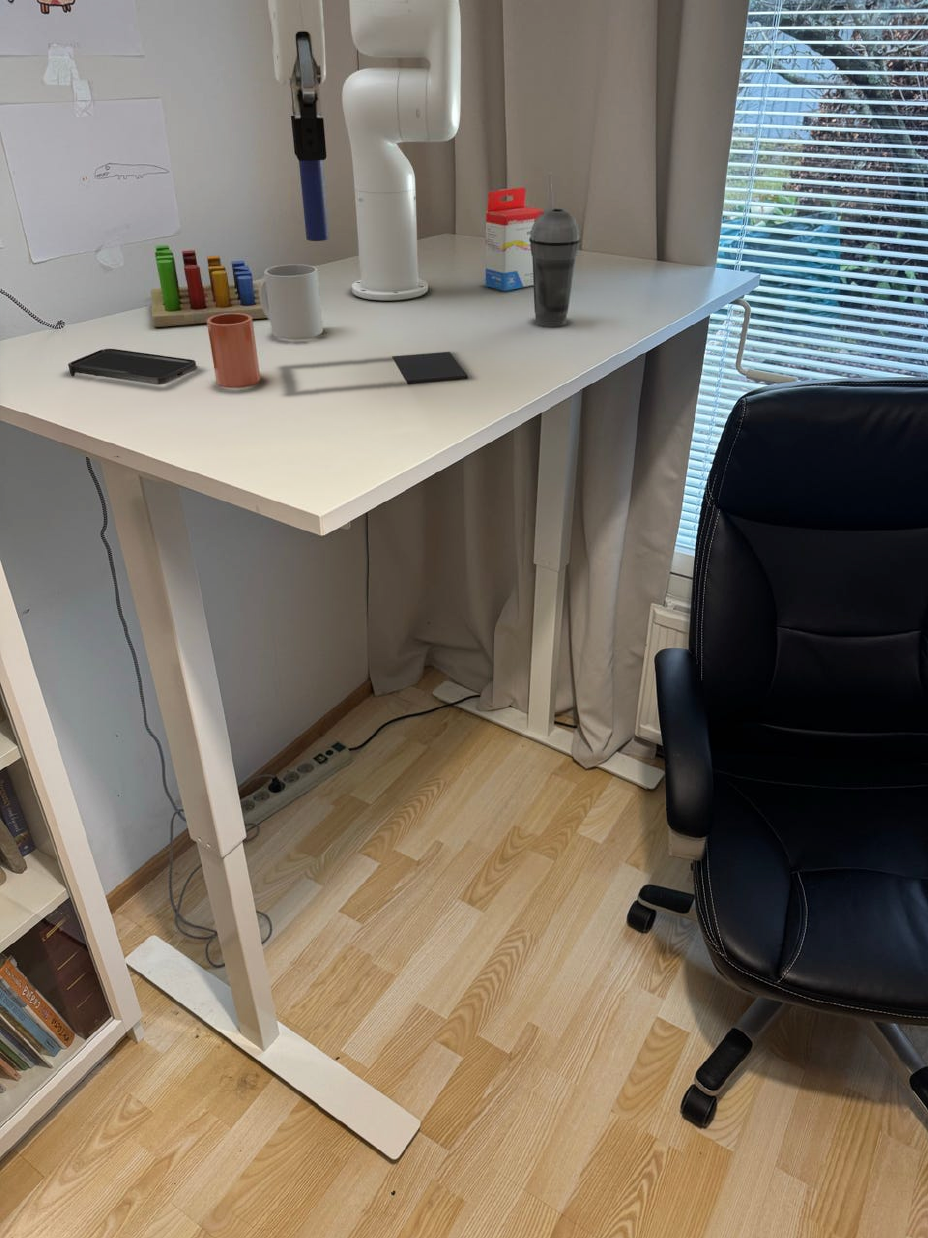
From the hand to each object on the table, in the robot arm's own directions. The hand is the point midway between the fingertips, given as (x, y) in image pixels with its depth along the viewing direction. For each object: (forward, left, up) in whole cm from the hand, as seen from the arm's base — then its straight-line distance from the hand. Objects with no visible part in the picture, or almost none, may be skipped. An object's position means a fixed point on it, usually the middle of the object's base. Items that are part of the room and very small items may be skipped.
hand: (310, 156), depth 99 cm
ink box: (-39, +36, -25) cm, 59 cm away
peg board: (-37, -14, -25) cm, 47 cm away
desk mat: (0, +6, -25) cm, 26 cm away
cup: (-20, -3, -25) cm, 32 cm away
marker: (0, 0, -9) cm, 9 cm away
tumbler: (0, -11, -25) cm, 27 cm away
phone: (-8, -24, -25) cm, 36 cm away
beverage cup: (-16, +35, -25) cm, 46 cm away
